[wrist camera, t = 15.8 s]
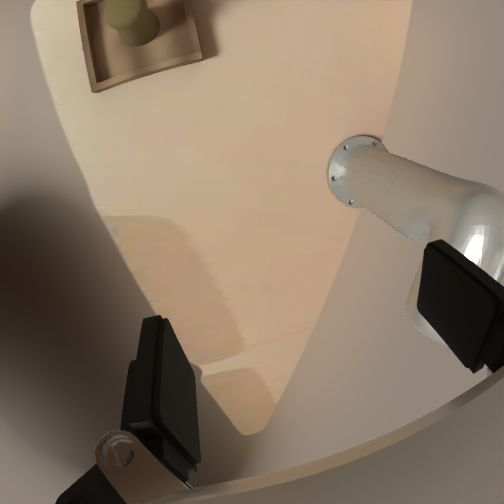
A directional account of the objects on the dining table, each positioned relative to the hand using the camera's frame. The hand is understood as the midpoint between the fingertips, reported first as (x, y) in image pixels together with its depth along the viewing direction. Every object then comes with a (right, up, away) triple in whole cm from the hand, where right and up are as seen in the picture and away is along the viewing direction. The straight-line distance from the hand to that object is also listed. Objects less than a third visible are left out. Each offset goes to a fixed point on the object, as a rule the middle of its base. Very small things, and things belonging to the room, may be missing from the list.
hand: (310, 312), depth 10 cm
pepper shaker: (-18, +34, +22) cm, 44 cm away
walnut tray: (-18, +34, +23) cm, 45 cm away
